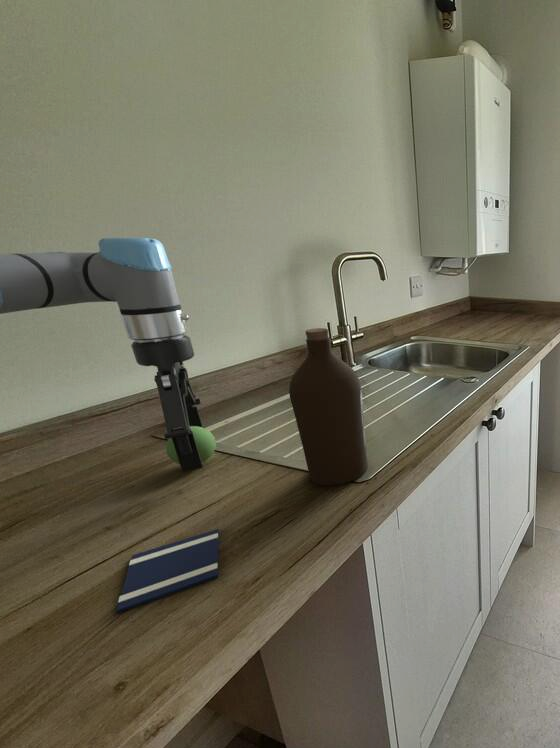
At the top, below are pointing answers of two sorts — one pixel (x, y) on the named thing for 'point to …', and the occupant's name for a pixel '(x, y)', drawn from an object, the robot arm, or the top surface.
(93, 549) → the top surface
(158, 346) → the robot arm
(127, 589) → the towel
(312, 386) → the olive oil
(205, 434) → the mango
